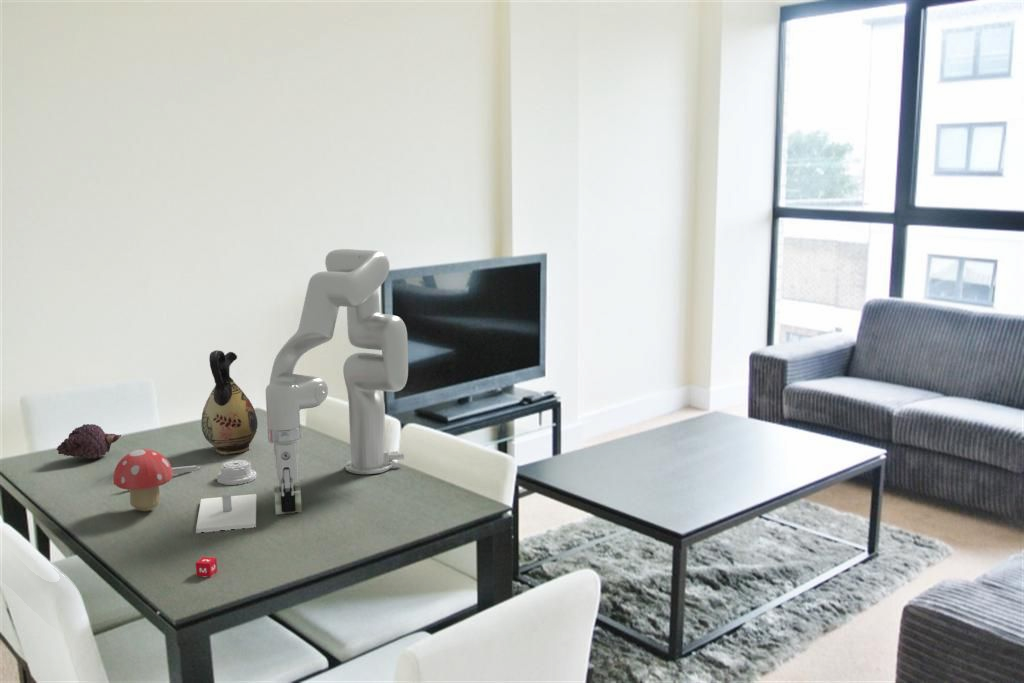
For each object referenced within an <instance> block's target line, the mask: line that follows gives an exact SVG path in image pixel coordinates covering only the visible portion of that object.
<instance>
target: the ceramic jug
mask: <svg viewBox="0 0 1024 683" xmlns="http://www.w3.org/2000/svg"><path fill="white" fill-rule="evenodd" d="M208 359H209V367H210V370H211V375H212V377H213V380H214V384H215V385H214V386H213V389H212V390H211V392H210V394H209V395H208V398H207V400H206V401H205V404H204V407H203V410H202V414H201V425H200V427H201V431H202V434H203V436H204V438H205V440H206V441H207V442H208V443H209V444H210V445H212V446H213V448H214V451H217V452H218V454H219V453H220V455H223V454H224V455H223V456H226V455H231V454H232V455H233V454H238V453H245V452H247V451H249V450H250V449H249V447H250V444H251V443H252V441H253V439H255V436H256V434H257V430H258V423H259V422H258V416H257V414H256V411H255V408H254V406H253V404H252V402H251V401H250V399H249V397H248V396H247V395H246V394H245V393H244V391H243V389H241V388H240V387H239V385H237V383H235V381H234V379H232V378H231V376H230V368H231V367H230V366H232V364H233V363H234V362H235V361H236V360H237V359H238V355H237V354H236V353H235V352H233V351H228V352H227V353H226V354H225V352H224V351H223V350H220V349H219V350H213V351H212V352H210V354H209V358H208ZM248 449H249V450H248ZM217 452H216V453H217Z"/></svg>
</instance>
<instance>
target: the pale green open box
mask: <svg viewBox="0 0 1024 683" xmlns="http://www.w3.org/2000/svg"><path fill="white" fill-rule="evenodd" d="M290 487H291V485H290ZM284 488H285V486H284ZM293 490H294V494H295V508H296V510H295V511H293V512H282V508H281V496H282V488H281V485H274V492H273V493H274V509H275V515H276V516H277V515H285V514H286V513H287V514H296V513H295V512H298V513H303V512H302V493H301V484H300V483H295V484H294V483H293ZM287 514H286V515H287Z"/></svg>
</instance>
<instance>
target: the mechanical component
mask: <svg viewBox="0 0 1024 683" xmlns="http://www.w3.org/2000/svg"><path fill="white" fill-rule="evenodd" d="M220 469H221V470H220V471H221V472H219V473H218V474H217V475H216V481H217V483H218V484H220V485H227V486H237V484H238V485H243V483H244V484H248V483H251V482H253V481H255V480H256V479H257V472H256V470H253V469H252V465H251V461H247V460H246V459H245V460H243V459H238V460H230V461H227V462H223V463H222V464H221V466H220ZM254 479H255V480H254ZM247 482H248V483H247Z"/></svg>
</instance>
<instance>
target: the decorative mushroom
mask: <svg viewBox="0 0 1024 683" xmlns="http://www.w3.org/2000/svg"><path fill="white" fill-rule="evenodd" d="M172 468H173V467H172V464H171V463H170V461H169V460H168V459H167V457H165V456H164V455H163V454H162V453H160V452H158V451H156V450H152V449H146V448H145V449H136V450H134V451H131V452H129V453H127V454H125V455H124V456H123V457H122V458H121V459H120V461H119V462H118V463H117V464H116V466H115V468H114V472H113V484H114V486H116V487H117V488H119V489H123V490H128V491H129V493H130V494H129V496H130V497H129V502H130V505H131V506H132V507H133V508H135V510H139V511H141V512H149V511H151V510H153V509H154V508H156V507H157V505H159V503H161V494H160V488H159V486H162V485H165V484H167V483H168V482H170V481H171V480H172V478H173V477H174V474H173V471H172Z"/></svg>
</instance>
